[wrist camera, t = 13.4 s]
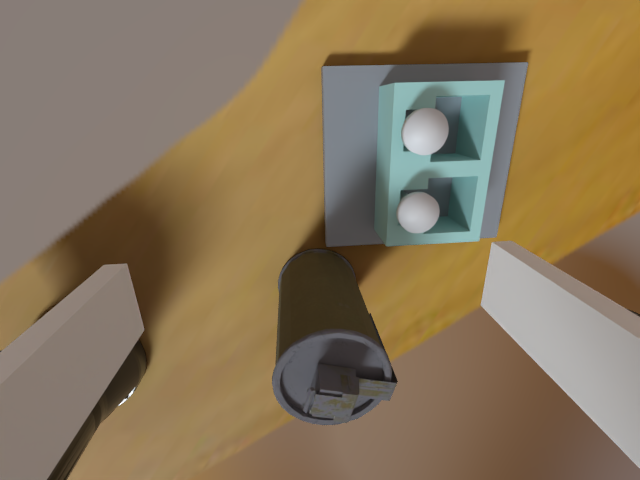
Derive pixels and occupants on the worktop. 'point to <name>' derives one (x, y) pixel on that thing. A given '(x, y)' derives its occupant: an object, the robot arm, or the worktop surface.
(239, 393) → the worktop surface
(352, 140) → the board
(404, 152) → the teal breeze block
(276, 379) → the canister
